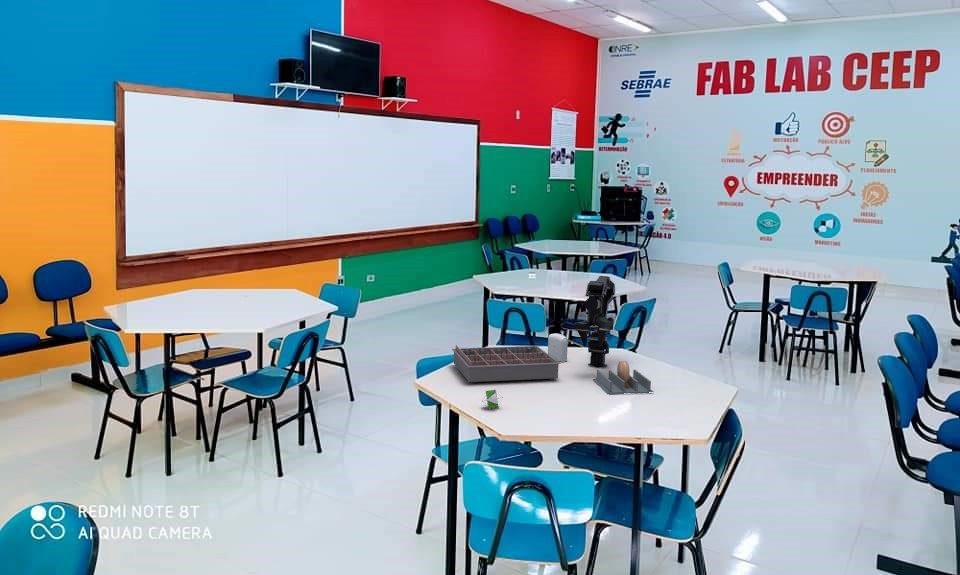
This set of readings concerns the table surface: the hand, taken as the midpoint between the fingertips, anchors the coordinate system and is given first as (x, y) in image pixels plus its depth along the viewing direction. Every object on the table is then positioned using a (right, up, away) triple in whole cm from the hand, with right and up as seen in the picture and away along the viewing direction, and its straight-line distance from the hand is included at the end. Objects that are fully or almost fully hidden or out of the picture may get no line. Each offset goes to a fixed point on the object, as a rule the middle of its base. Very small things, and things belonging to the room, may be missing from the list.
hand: (592, 346), depth 328 cm
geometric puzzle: (-44, -19, -48) cm, 68 cm away
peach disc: (+10, -15, -17) cm, 24 cm away
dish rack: (+10, -16, -17) cm, 25 cm away
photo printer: (-13, -9, +25) cm, 30 cm away
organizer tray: (-38, -12, 0) cm, 40 cm away
